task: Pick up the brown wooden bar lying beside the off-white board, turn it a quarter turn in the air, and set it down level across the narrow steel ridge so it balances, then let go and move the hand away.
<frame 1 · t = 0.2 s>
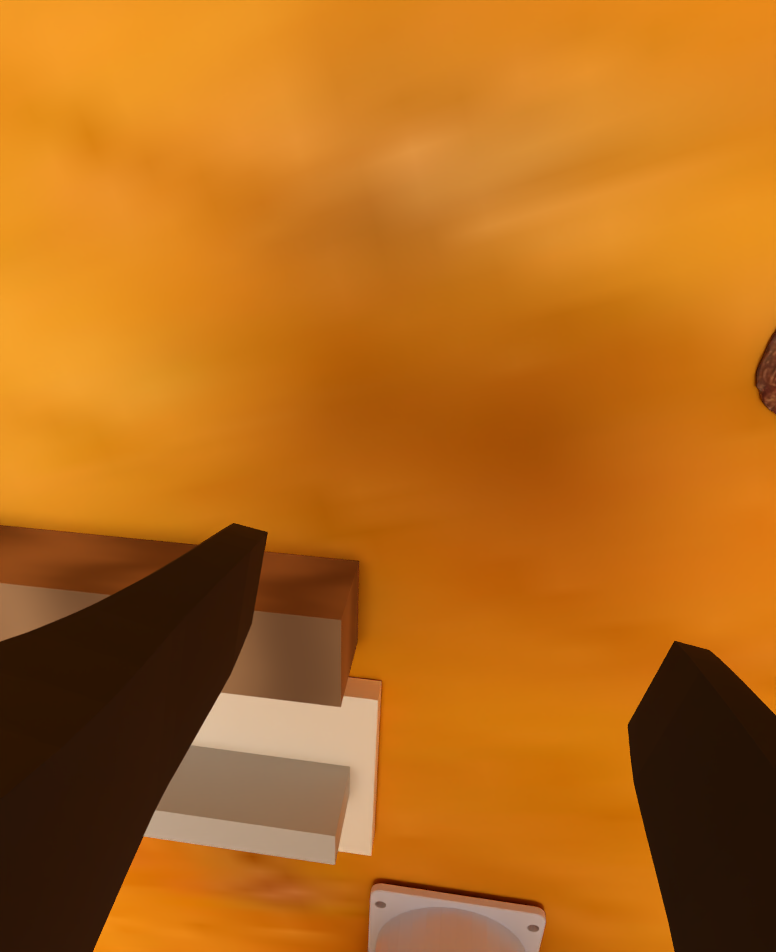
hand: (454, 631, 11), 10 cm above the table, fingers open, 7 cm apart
ridge stand: (170, 735, 28), on the table
brown wooden bar: (151, 575, 25), on the table
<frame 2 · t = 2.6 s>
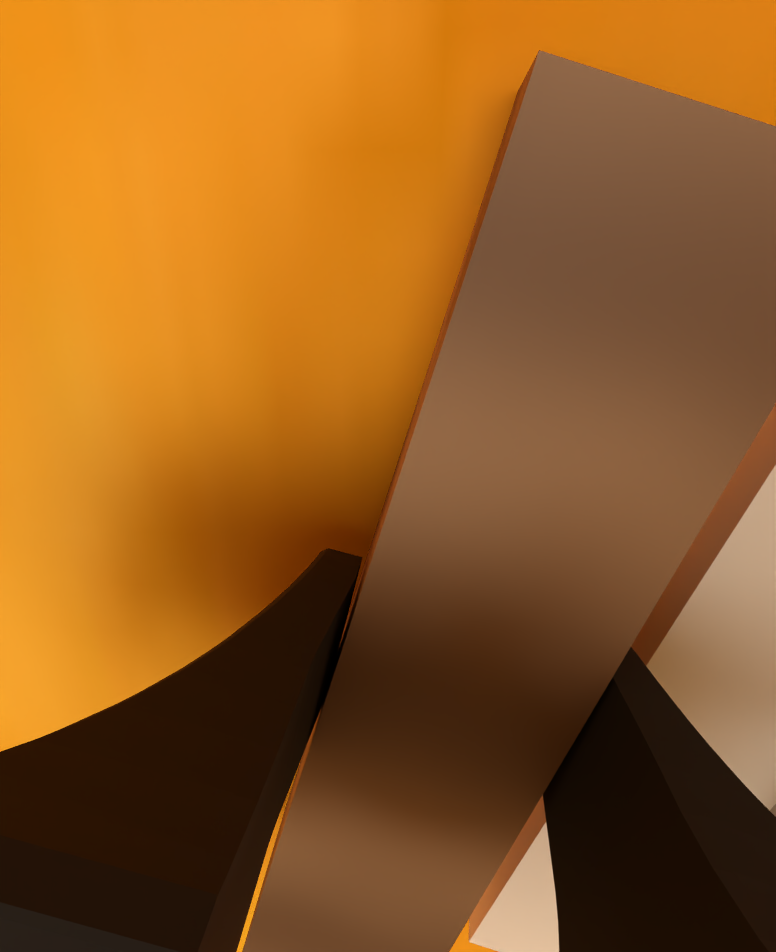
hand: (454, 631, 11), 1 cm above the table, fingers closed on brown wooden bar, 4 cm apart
brown wooden bar: (457, 576, 13), on the table, touching gripper
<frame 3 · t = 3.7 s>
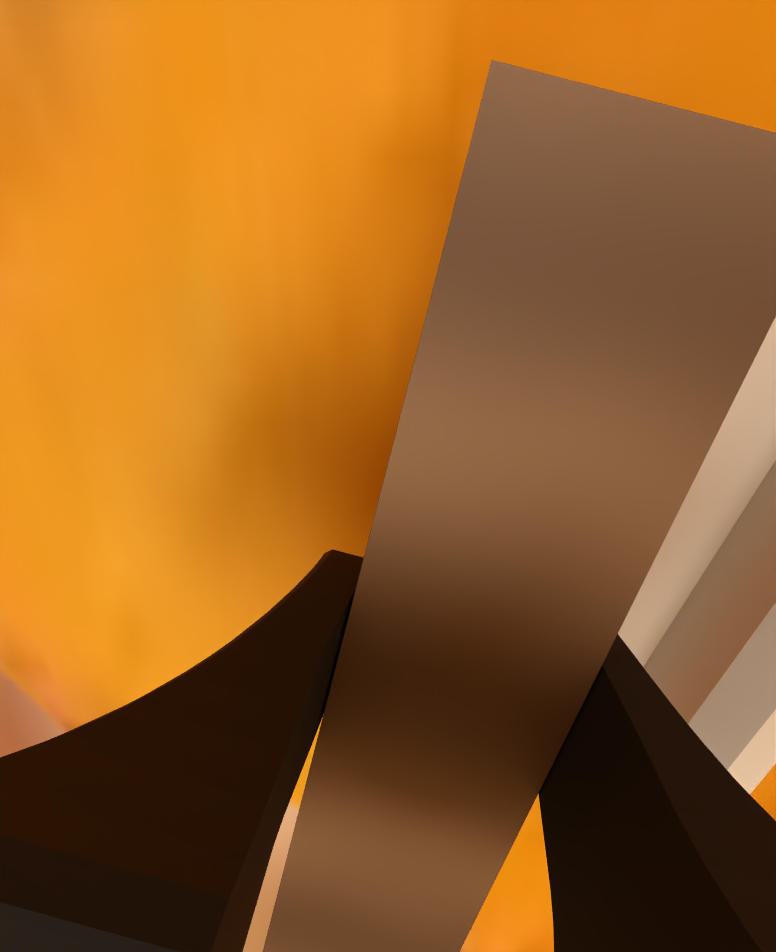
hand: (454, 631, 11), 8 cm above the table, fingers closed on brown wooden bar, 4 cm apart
ridge stand: (730, 544, 18), on the table
brown wooden bar: (456, 571, 13), point 6 cm above the table, touching gripper
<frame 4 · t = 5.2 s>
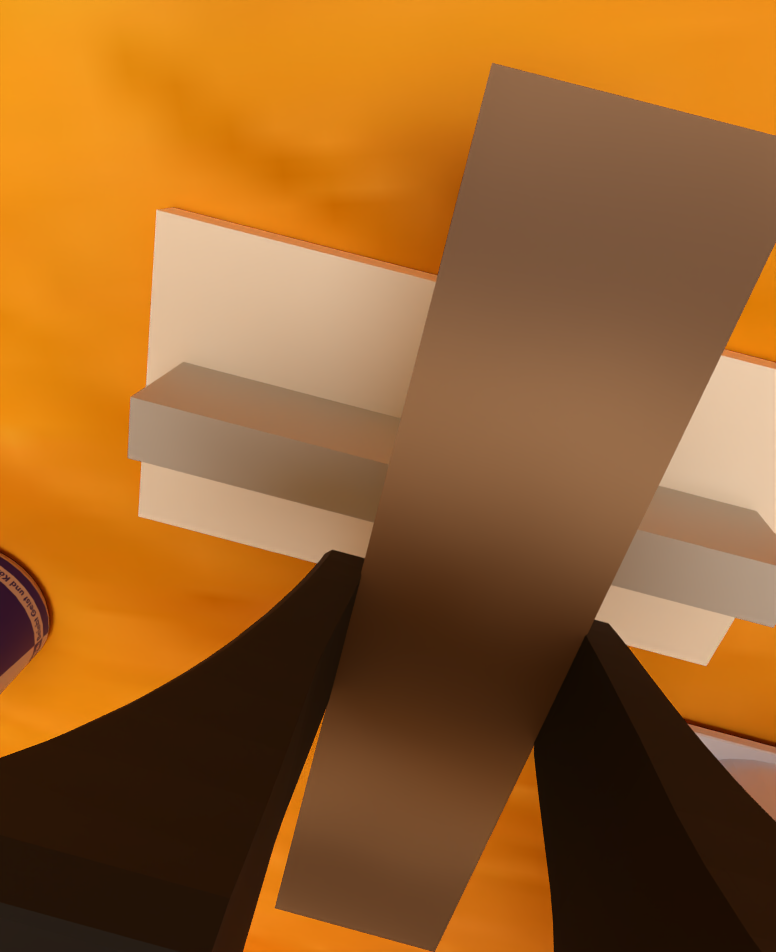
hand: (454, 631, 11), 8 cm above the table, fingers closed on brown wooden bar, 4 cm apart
ridge stand: (461, 447, 19), on the table
brown wooden bar: (459, 542, 14), point 6 cm above the table, touching gripper
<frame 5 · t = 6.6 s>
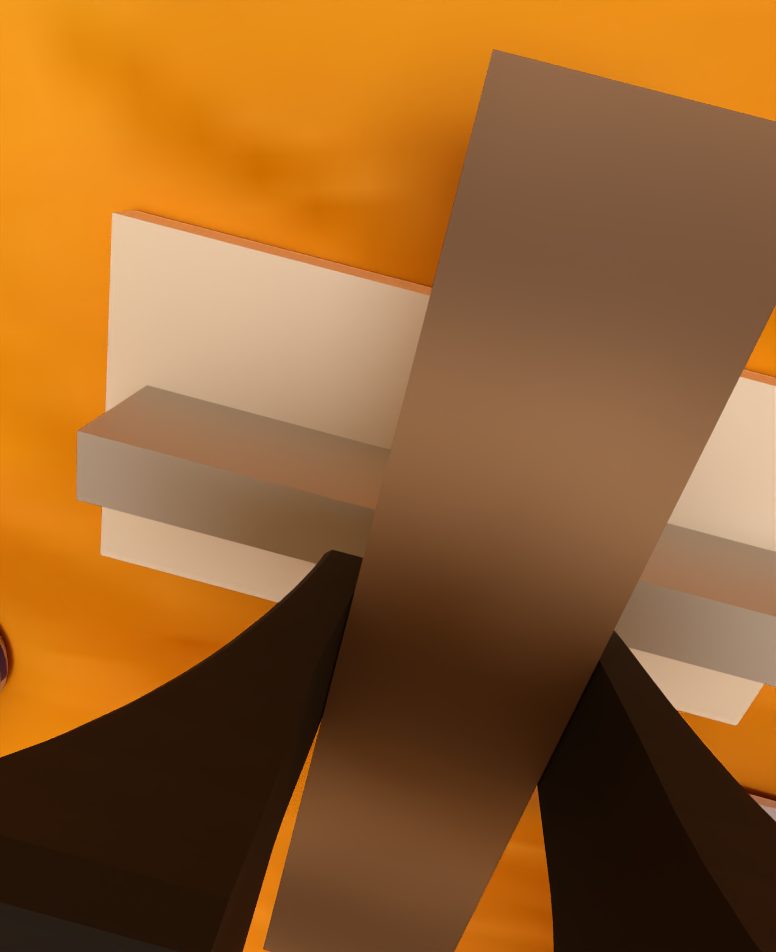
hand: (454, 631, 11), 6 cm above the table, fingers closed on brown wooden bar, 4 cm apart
ridge stand: (462, 481, 17), on the table
brown wooden bar: (458, 562, 13), point 4 cm above the table, touching gripper, ridge stand
when the fingers open (6 cm above the table, at t = 7.4 s): brown wooden bar stays where it is, resting on ridge stand.
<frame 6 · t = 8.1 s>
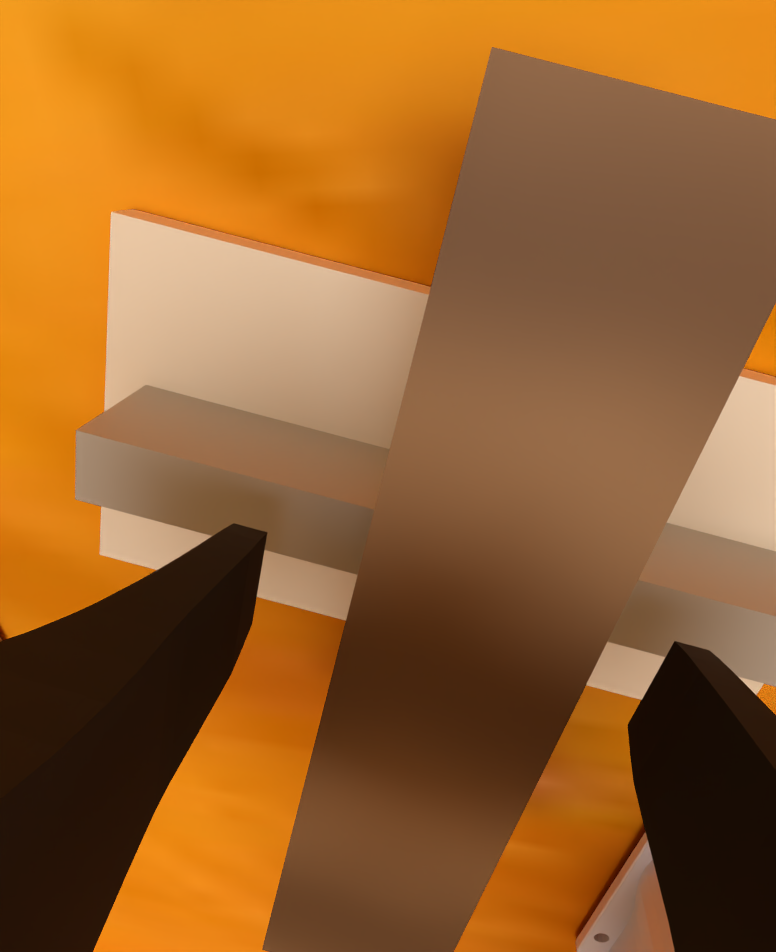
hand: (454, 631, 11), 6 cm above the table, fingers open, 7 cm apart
ridge stand: (461, 481, 17), on the table
brown wooden bar: (457, 562, 13), point 4 cm above the table, touching ridge stand
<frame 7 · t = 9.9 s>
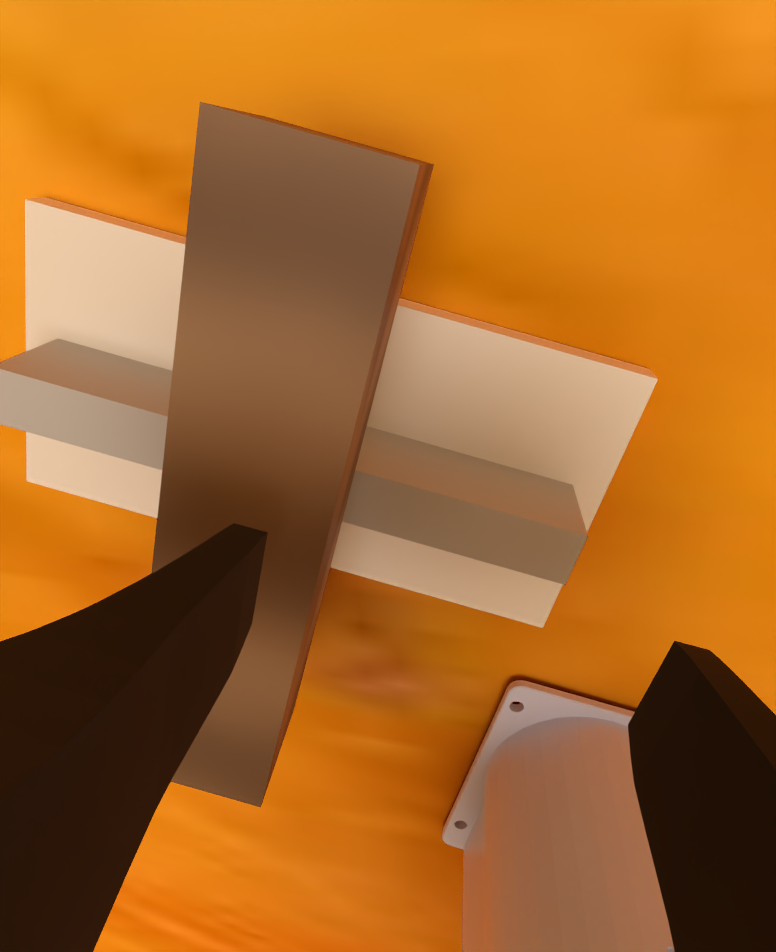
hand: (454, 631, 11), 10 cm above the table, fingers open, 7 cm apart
ridge stand: (317, 423, 21), on the table
brown wooden bar: (283, 473, 17), point 4 cm above the table, touching ridge stand
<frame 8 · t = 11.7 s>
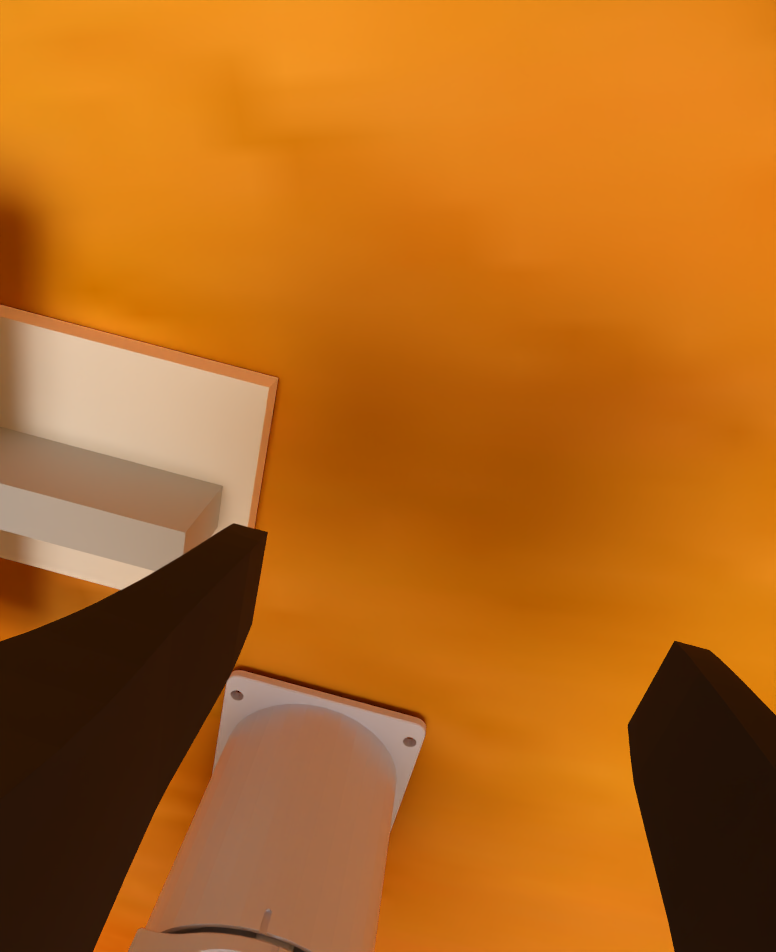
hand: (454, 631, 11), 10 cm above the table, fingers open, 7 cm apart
ridge stand: (6, 433, 22), on the table
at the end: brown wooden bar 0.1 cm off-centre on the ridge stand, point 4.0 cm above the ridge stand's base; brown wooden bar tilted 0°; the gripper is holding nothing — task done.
